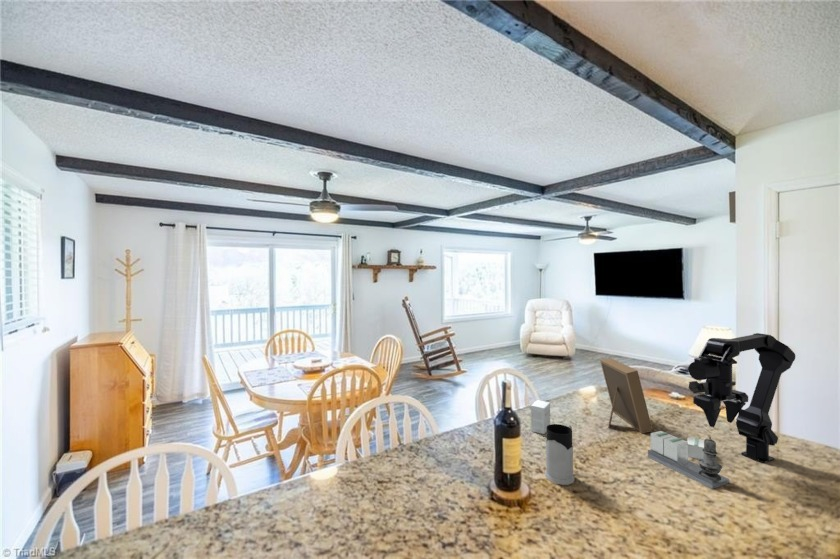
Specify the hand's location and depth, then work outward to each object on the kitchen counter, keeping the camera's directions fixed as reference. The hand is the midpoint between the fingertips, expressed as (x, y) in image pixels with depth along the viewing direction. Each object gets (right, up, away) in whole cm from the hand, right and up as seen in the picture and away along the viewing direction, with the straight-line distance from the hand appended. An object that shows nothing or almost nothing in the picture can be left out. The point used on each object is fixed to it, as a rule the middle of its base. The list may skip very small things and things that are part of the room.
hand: (720, 424), depth 120 cm
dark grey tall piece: (-11, -12, -9) cm, 18 cm away
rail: (-14, -13, -3) cm, 19 cm away
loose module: (-3, -13, +6) cm, 15 cm away
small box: (-50, -13, +28) cm, 59 cm away
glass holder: (-54, -14, -4) cm, 56 cm away
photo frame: (-15, -13, +34) cm, 39 cm away
